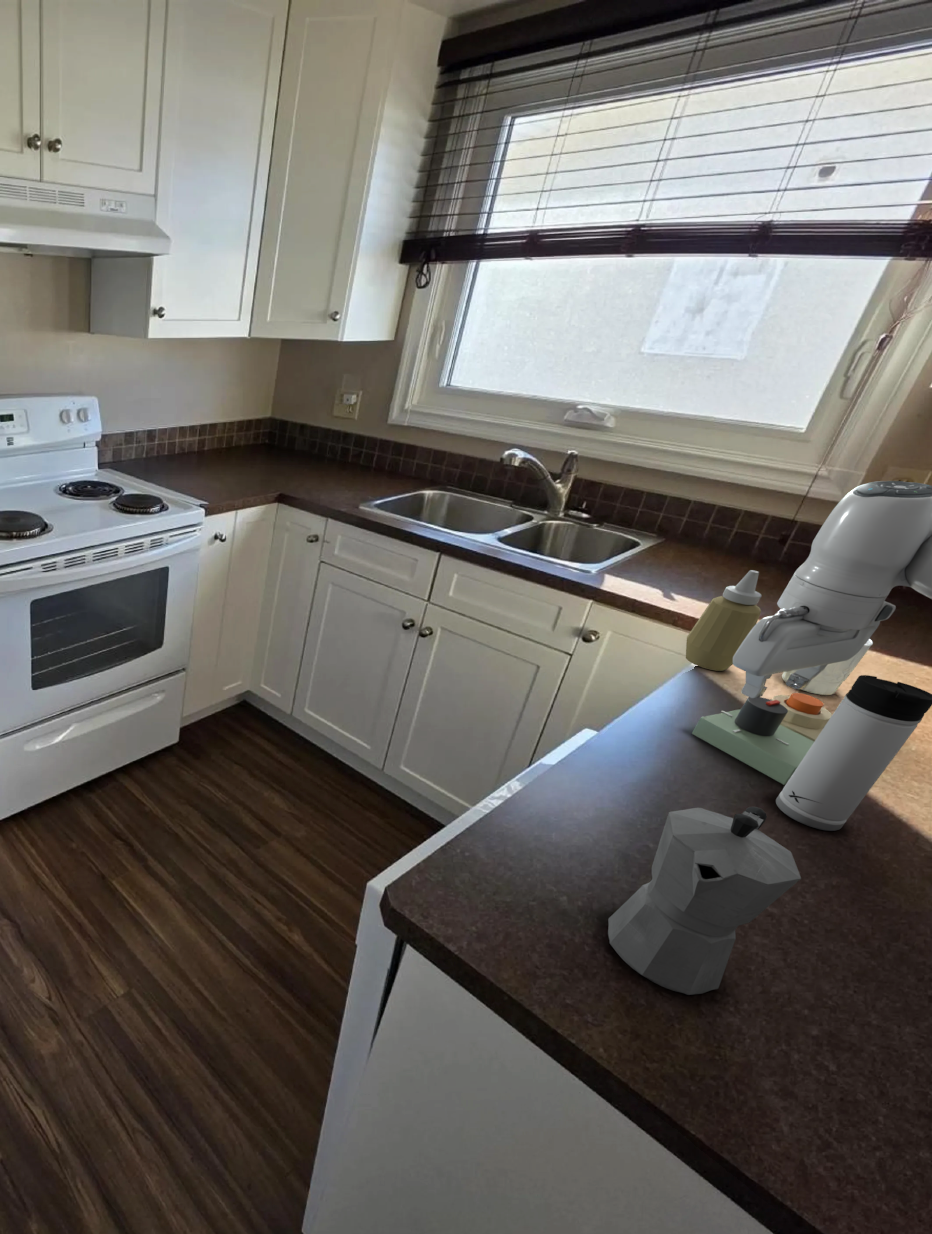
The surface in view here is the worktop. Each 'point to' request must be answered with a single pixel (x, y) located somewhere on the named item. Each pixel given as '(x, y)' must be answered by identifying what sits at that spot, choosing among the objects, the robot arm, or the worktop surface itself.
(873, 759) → the travel mug
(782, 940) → the worktop surface
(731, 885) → the coffeepot
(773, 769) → the dial panel
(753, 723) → the timer dial
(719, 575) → the worktop surface
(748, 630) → the squeeze bottle
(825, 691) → the white cup
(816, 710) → the power button
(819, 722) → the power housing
